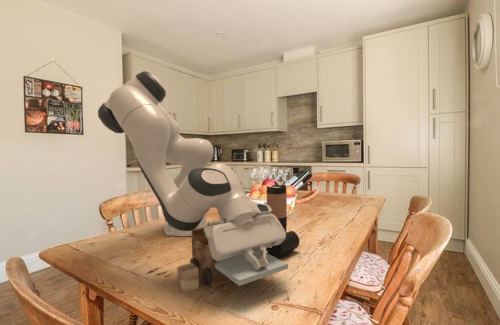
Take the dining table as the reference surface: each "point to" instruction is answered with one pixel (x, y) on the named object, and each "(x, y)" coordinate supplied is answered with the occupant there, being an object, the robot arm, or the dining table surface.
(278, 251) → the end cap
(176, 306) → the dining table surface
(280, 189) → the travel mug
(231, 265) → the tailgate
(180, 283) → the beech block
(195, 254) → the tray
